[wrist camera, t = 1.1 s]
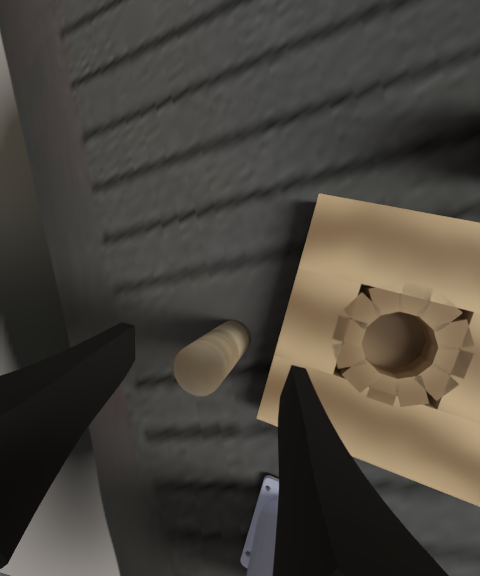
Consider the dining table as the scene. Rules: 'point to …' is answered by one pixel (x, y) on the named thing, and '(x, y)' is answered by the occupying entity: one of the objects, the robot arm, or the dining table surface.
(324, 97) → the dining table surface
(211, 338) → the dowel
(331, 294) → the bore board
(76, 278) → the dining table surface
